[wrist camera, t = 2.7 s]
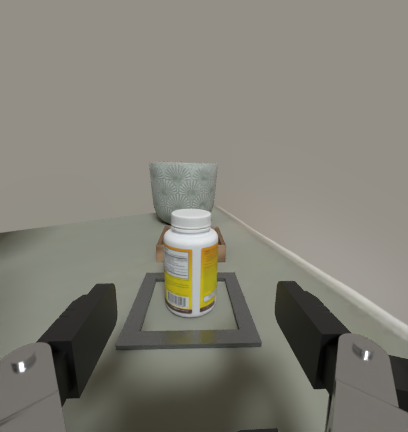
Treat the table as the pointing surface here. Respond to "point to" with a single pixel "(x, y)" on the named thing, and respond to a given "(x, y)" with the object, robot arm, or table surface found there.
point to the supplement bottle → (190, 263)
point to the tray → (220, 240)
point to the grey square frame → (192, 338)
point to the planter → (182, 186)
